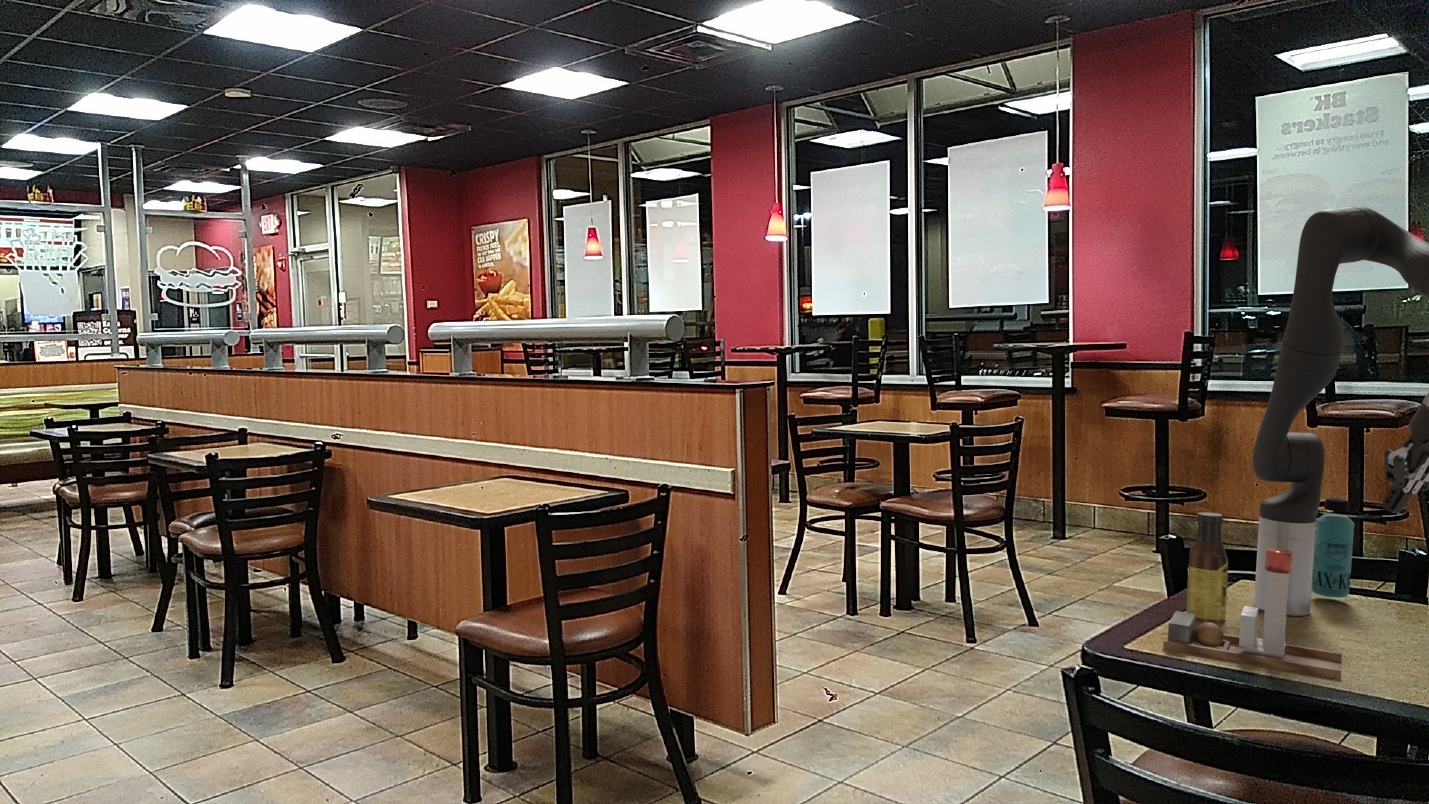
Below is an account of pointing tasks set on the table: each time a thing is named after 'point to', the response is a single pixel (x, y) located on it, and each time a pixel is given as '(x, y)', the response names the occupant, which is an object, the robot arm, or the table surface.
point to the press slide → (1269, 609)
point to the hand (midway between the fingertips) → (1389, 510)
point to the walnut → (1209, 634)
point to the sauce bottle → (1208, 571)
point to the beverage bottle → (1333, 551)
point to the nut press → (1294, 658)
